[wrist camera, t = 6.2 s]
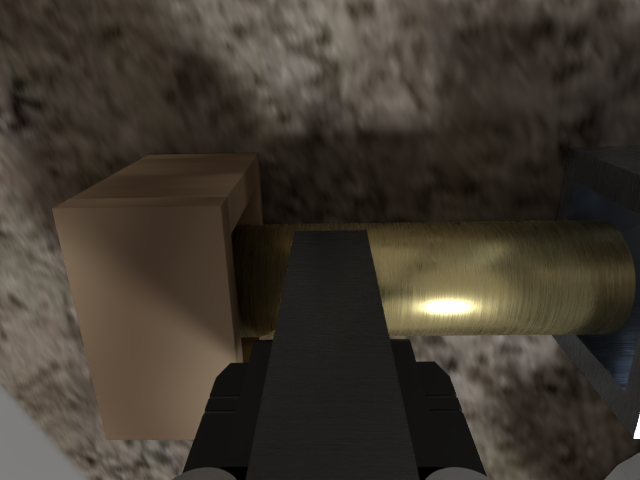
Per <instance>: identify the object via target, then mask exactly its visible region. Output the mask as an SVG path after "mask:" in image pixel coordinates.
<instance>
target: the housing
mask: <svg viewBox="0 0 640 480" xmlns="http://www.w3.org/2000/svg"><path fill="white" fill-rule="evenodd" d="M557 220H605V221H608V222H610V223H611V224H613V225H614V226H615V227H616V228H617V229H618V230H619V231H620V232H621V234H622V235H623V236H624V238H625V240H626V242H627V244H628V246H629V249H630V252H631V255H632V258H633V263H634V269H635V280H636V282H635V297H634V302H633V306H632V310H631V312H630V315H629V317H628V319H627V321H626V322H625V324H624V325H623V326H622V327H621V328H620V329H619V330H618V331H616V332H614V333H612V334H591V335H552V336H553V337H554V339H555V340H556V341H557V342H558V344H559V345H560V346H561V348H562V349H563V350H564V351H565V353H566V354H567V355H568V356H569V358H570V359H571V360H572V361H573V363H574V364H575V365H576V366H577V368H578V369H579V370H580V372H581V373H582V374H583V375H584V377H585V378H586V379H587V380H588V382H589V383H590V384H591V385H592V387H593V388H594V389H595V391H596V392H597V393H598V394H599V396H600V397H601V398H602V399H603V401H604V402H605V403H606V404H607V406H608V407H609V408H610V410H611V411H612V412H613V413H614V415H615V416H616V417H617V418H618V420H619V421H620V422H621V423H622V425H623V426H624V427H625V428H626V430H627V431H628V432H629V434H630V435H631V436H632V437H633V439H640V146H629V147H571V148H569V151H568V157H567V162H566V168H565V174H564V180H563V186H562V192H561V198H560V204H559V210H558V215H557Z"/></svg>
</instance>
